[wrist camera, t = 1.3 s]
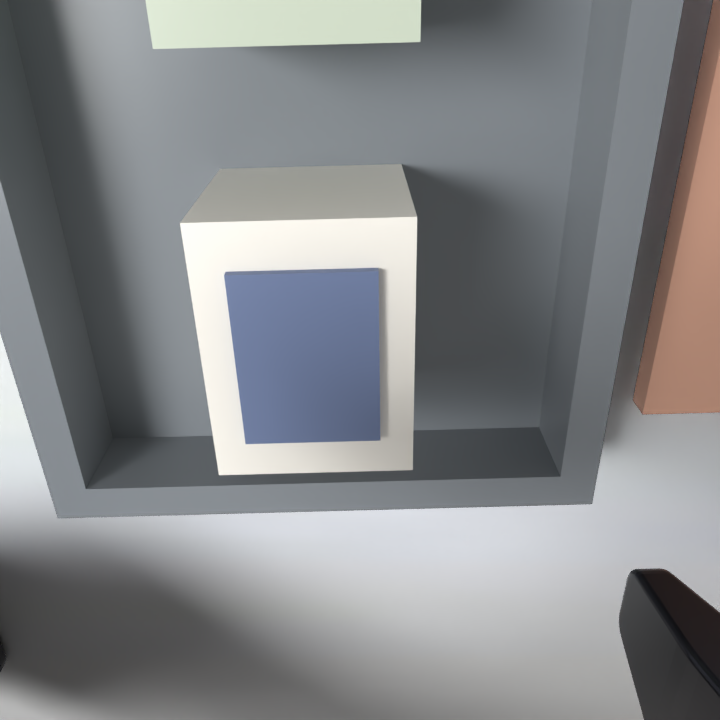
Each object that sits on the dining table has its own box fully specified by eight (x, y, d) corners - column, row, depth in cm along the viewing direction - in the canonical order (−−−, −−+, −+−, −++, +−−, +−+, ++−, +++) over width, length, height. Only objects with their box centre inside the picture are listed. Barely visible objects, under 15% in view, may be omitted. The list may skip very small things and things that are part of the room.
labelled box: (399, 373, 20) (413, 475, 15) (245, 377, 20) (217, 480, 15) (401, 164, 17) (418, 219, 13) (220, 168, 17) (177, 226, 13)
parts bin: (562, 441, 22) (591, 503, 19) (93, 453, 22) (57, 518, 19) (710, -567, 12) (817, -733, 9) (-168, -544, 11) (-323, -705, 9)
